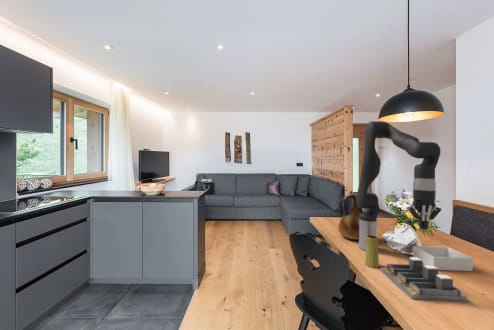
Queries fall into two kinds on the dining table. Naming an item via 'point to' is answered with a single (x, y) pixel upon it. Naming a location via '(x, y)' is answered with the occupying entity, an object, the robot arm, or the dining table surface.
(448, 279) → the breaker near
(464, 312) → the dining table surface
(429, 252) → the frame
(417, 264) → the breaker far
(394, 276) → the panel
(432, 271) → the block
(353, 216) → the ceramic pitcher
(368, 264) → the vase
